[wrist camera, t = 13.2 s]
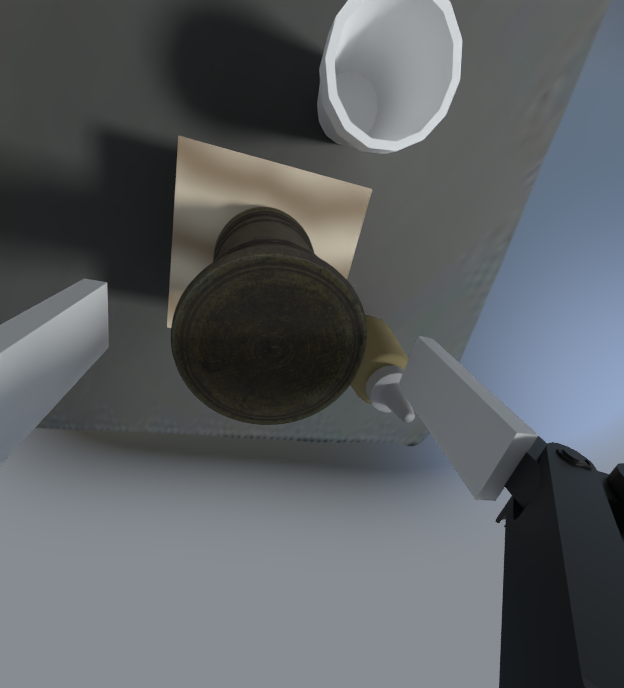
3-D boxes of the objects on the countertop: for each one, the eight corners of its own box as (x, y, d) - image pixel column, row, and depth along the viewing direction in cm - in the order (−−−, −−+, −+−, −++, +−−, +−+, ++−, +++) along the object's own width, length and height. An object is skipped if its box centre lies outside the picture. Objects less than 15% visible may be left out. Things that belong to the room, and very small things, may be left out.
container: (271, 184, 27) (289, 184, 11) (332, 268, 31) (411, 359, 15) (191, 252, 29) (106, 339, 13) (259, 325, 32) (260, 462, 16)
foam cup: (319, 175, 36) (349, 171, 24) (287, 73, 31) (303, 9, 20) (401, 140, 35) (471, 119, 24) (379, 33, 31) (451, -57, 19)
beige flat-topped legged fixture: (198, 147, 33) (178, 135, 25) (347, 188, 36) (372, 189, 28) (185, 298, 39) (167, 327, 31) (314, 320, 43) (326, 351, 35)
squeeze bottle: (386, 351, 47) (453, 438, 31) (332, 366, 46) (370, 462, 30) (379, 298, 43) (451, 366, 27) (319, 314, 43) (356, 393, 27)
